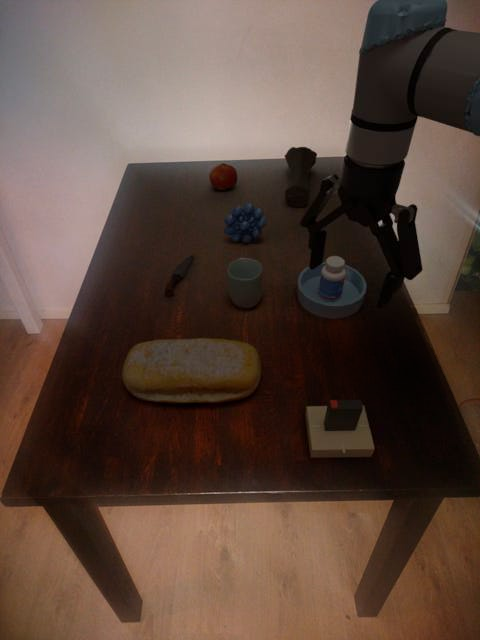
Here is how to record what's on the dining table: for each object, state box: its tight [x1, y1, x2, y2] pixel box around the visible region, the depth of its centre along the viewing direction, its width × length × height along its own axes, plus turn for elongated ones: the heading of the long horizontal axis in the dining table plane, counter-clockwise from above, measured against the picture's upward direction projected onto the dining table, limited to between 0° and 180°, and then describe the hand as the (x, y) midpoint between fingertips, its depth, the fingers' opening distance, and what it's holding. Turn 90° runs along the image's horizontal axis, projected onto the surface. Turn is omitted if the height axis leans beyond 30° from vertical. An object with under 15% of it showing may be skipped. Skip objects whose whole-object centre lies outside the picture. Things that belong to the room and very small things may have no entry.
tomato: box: [209, 162, 238, 191], centre depth 127 cm, size 9×9×8 cm
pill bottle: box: [318, 255, 346, 302], centre depth 87 cm, size 6×5×10 cm
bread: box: [121, 337, 262, 405], centre depth 73 cm, size 13×26×8 cm, turn 90°
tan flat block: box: [304, 404, 375, 459], centre depth 65 cm, size 10×9×3 cm
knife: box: [163, 255, 194, 298], centre depth 98 cm, size 17×2×5 cm
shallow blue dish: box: [296, 261, 368, 320], centre depth 89 cm, size 15×16×4 cm
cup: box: [226, 257, 264, 309], centre depth 87 cm, size 8×8×10 cm
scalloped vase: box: [284, 146, 318, 208], centre depth 125 cm, size 11×10×28 cm
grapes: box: [224, 202, 268, 244], centre depth 104 cm, size 12×7×12 cm, turn 84°
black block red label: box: [324, 399, 363, 431], centre depth 61 cm, size 5×2×7 cm, turn 90°
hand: (347, 283), depth 64 cm, fingers open, 13 cm apart
